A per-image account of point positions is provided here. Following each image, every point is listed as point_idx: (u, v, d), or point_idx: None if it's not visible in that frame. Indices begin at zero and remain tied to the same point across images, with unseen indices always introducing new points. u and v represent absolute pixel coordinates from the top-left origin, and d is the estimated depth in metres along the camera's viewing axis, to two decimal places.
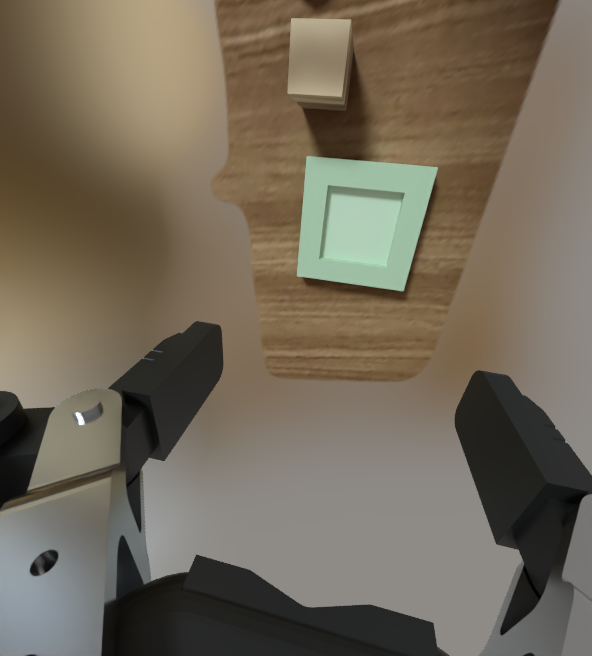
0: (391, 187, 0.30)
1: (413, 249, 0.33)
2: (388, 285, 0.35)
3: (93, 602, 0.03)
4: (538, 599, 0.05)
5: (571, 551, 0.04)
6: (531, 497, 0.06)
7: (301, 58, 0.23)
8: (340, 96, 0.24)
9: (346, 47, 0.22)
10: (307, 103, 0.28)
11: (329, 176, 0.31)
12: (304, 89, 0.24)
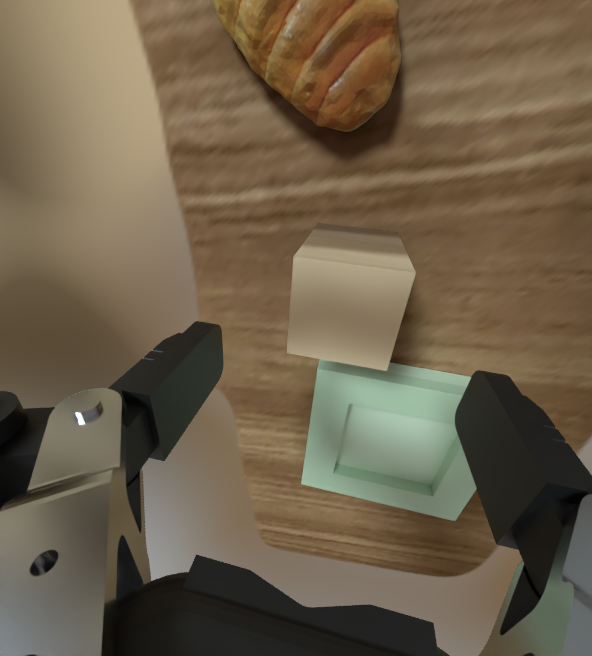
0: (449, 419, 0.19)
1: None
2: (433, 512, 0.24)
3: (93, 602, 0.03)
4: (538, 599, 0.05)
5: (571, 551, 0.04)
6: (531, 497, 0.06)
7: (311, 312, 0.12)
8: (384, 368, 0.13)
9: (402, 310, 0.11)
10: None
11: (352, 395, 0.20)
12: (318, 352, 0.13)
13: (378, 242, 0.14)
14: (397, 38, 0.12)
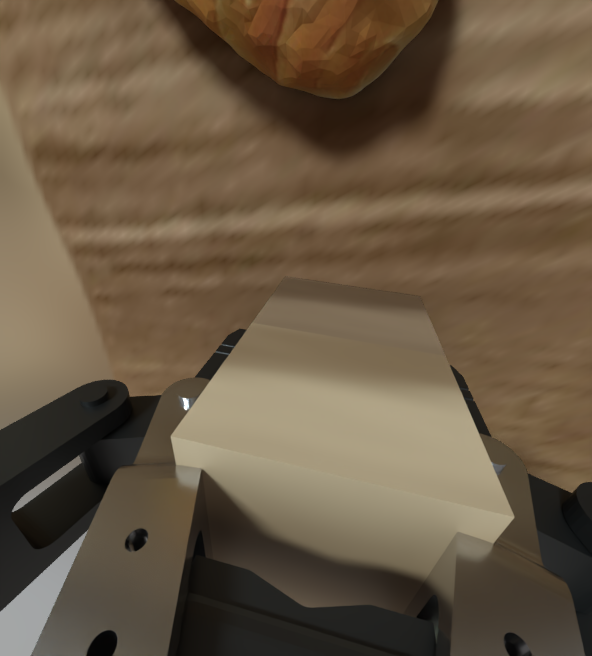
0: None
1: None
2: None
3: (168, 599, 0.03)
4: None
5: None
6: None
7: (236, 536, 0.05)
8: None
9: None
10: None
11: None
12: None
13: (390, 336, 0.07)
14: None
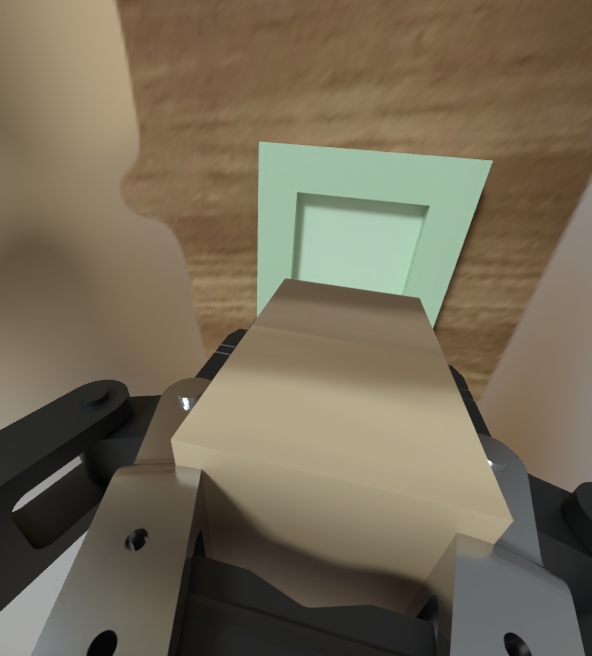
0: (406, 196, 0.17)
1: (441, 297, 0.20)
2: None
3: (168, 599, 0.03)
4: None
5: None
6: None
7: (237, 538, 0.05)
8: None
9: None
10: None
11: (299, 177, 0.18)
12: None
13: (389, 338, 0.07)
14: None
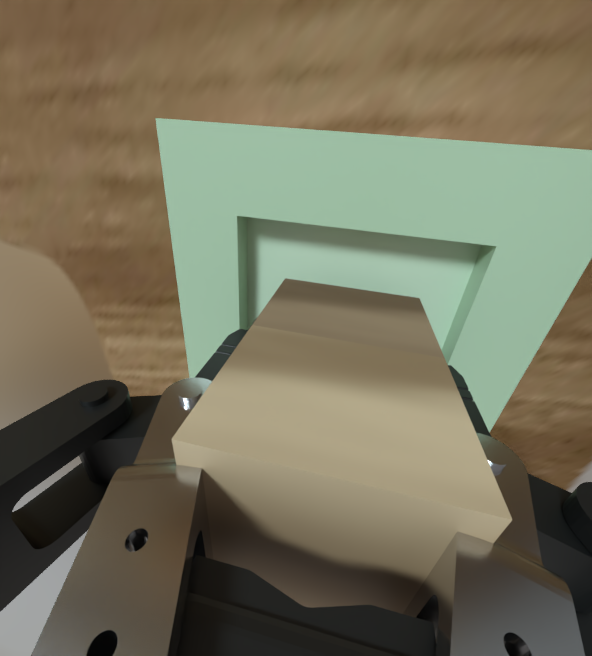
0: (449, 227, 0.09)
1: (501, 402, 0.11)
2: None
3: (167, 599, 0.03)
4: None
5: None
6: None
7: (237, 538, 0.05)
8: None
9: None
10: None
11: (238, 188, 0.09)
12: None
13: (389, 338, 0.07)
14: None
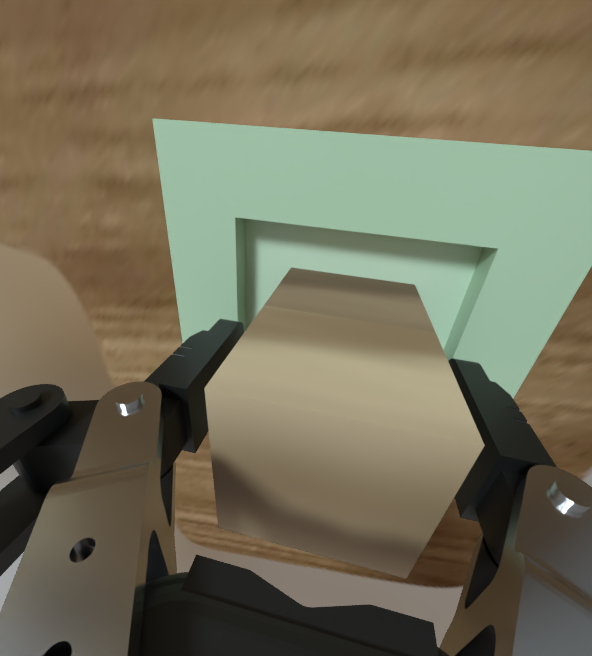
0: (450, 229, 0.08)
1: None
2: None
3: (123, 597, 0.03)
4: (496, 568, 0.06)
5: (521, 522, 0.05)
6: (488, 470, 0.06)
7: (255, 481, 0.06)
8: None
9: (444, 501, 0.05)
10: None
11: (236, 189, 0.09)
12: (275, 536, 0.07)
13: (386, 316, 0.08)
14: None
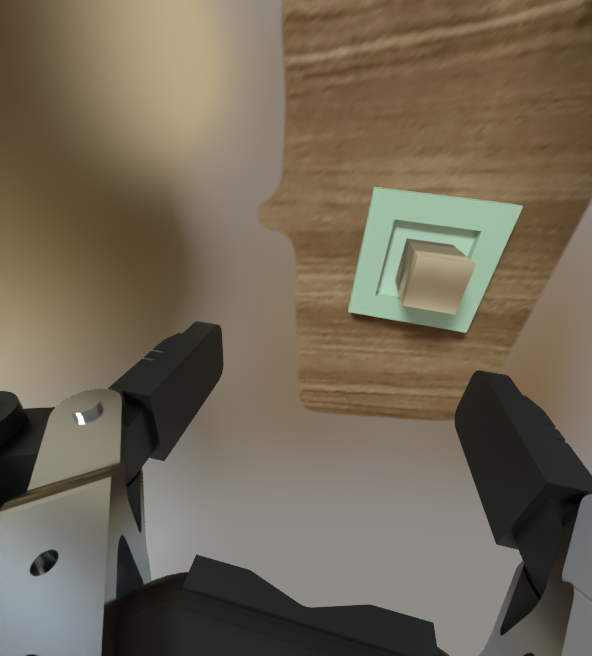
0: (467, 224, 0.27)
1: (483, 290, 0.30)
2: (450, 326, 0.32)
3: (93, 602, 0.03)
4: (538, 599, 0.05)
5: (571, 551, 0.04)
6: (531, 497, 0.06)
7: (421, 283, 0.25)
8: (453, 313, 0.26)
9: (467, 282, 0.24)
10: None
11: (397, 210, 0.28)
12: (420, 305, 0.26)
13: (448, 250, 0.27)
14: None
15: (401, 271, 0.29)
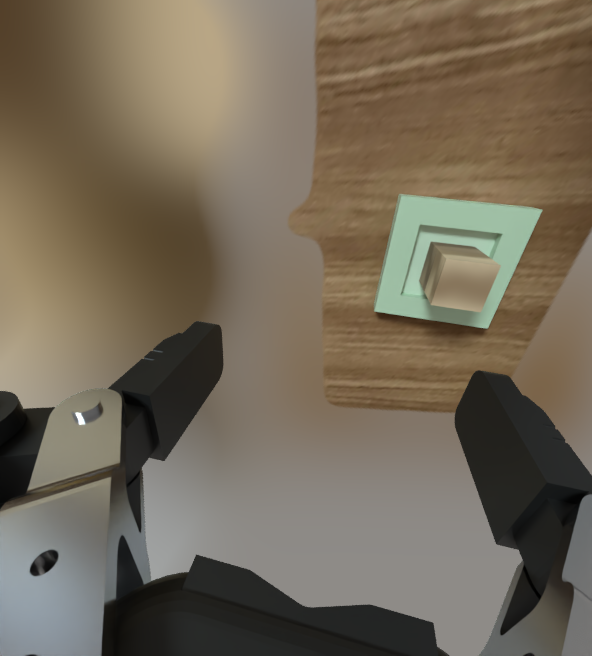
0: (488, 228, 0.29)
1: (504, 288, 0.32)
2: (472, 322, 0.34)
3: (93, 602, 0.03)
4: (538, 599, 0.05)
5: (571, 551, 0.04)
6: (531, 497, 0.06)
7: (449, 284, 0.27)
8: (479, 311, 0.28)
9: (492, 282, 0.26)
10: None
11: (423, 216, 0.30)
12: (447, 304, 0.28)
13: (472, 252, 0.29)
14: None
15: (426, 272, 0.31)
